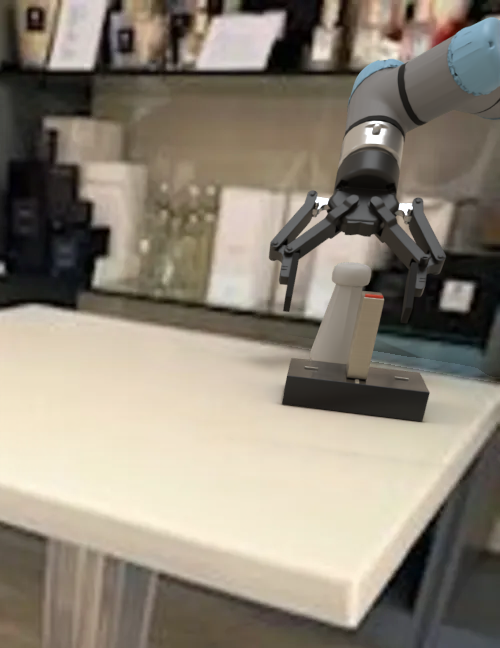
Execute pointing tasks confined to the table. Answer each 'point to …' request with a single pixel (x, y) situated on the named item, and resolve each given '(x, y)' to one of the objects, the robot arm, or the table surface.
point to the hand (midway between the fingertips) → (345, 310)
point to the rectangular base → (356, 390)
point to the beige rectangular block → (364, 335)
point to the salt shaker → (340, 313)
